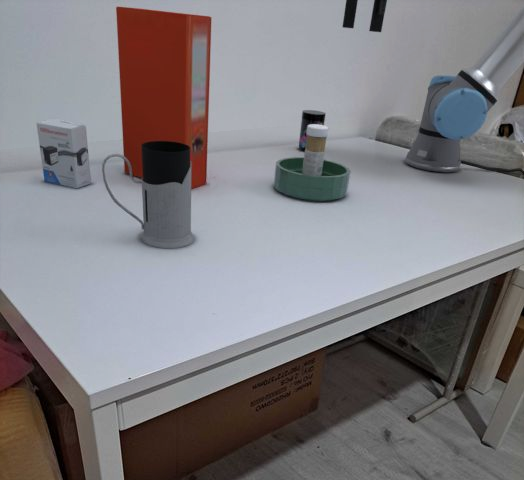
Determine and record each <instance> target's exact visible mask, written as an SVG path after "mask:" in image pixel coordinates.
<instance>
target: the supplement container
mask: <svg viewBox="0 0 524 480" xmlns="http://www.w3.org/2000/svg"><path fill="white" fill-rule="evenodd" d="M326 116H327V115H326V112H324V111H320V110H314V109H304V110H302V113H301V121H300V129H299V139H298V140H299V141H298V149H299V150H300V151H301V152H305V147H306V140H307V134H306V133H307V126H308V125H310V124H318V125H324V126H325V121H326Z"/></svg>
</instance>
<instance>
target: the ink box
mask: <svg viewBox="0 0 524 480" xmlns="http://www.w3.org/2000/svg"><path fill="white" fill-rule="evenodd" d="M35 125H36V131H37V136H38V144H39V151H40V158H41V166H42V173H43V181H44V182H46V183H50V184H55V185H58V186H59V185H60V186H65V187H69V188H72V189H80V188H82V187H85V186H88V185H91V184H92V178H91V177H92V176H91V167H90V156H89V145H88V135H87V126H86V125H85V124H84V123H79V122H74V121H70V120H63V119H58V118H50V119H46V120H42V121H37V122H36V124H35Z"/></svg>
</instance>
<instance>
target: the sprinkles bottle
mask: <svg viewBox="0 0 524 480" xmlns="http://www.w3.org/2000/svg"><path fill="white" fill-rule="evenodd" d="M306 134H307V140H306V147H305V151H304V156H303V157H304V161H303V170H302V174H306V175H313V176H321V175H322V168H323V161H324V160H325V152H326V151H325V150H326V143H327V138H328V134H329V127H328V125H325V124H324V125H318V124H310V125H308V126H307V133H306Z"/></svg>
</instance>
